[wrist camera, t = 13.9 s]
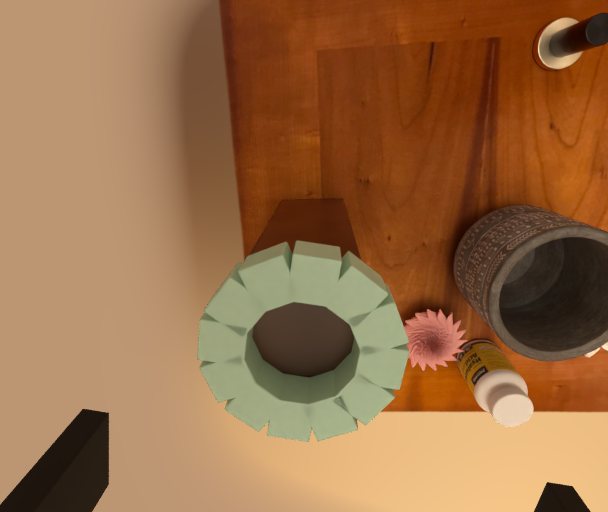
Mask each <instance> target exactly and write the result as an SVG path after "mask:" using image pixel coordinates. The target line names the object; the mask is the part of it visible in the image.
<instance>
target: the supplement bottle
mask: <svg viewBox="0 0 608 512" xmlns="http://www.w3.org/2000/svg"><path fill="white" fill-rule="evenodd" d="M461 349H462V350H464V351H465V352H459V353H458V355H457V366H458V368H459V370H460V372H461V374H462V376H463V378H464V379H465V381H466V383H467V385H468V387H469V388H470V390H471V392H472V394H473V396H474V398H475V399H476V401H477V403H478V404H479V406H480V407H481V408H482V409H484V410H485V411H487V412H489V413H491V414H492V416H493V418H494V419H495V420H496V421H497V422H498V423H499V424H501V425H503V426H507V427H515V426H519V425H522V424H524V423H525V422H527V421H528V420H529V419H530V417H531V415H532V413H533V404H532V402H531V400H530V399H529V397H528V396H527V394H528V389H527V385H526V383H525V381H524V380H523V378H522V377H521V375H520V374H519V373H518V372H517V370H516V369H515V368H514V367H513V365H512V364H511V363H510V361H509V360H508V359H507V358H506V356H505V355H504V354H503V353H502V351H501V350H500V349H499V348H498V347H497V346H496V345H495V344H494V343H492V342H490V341H487V340H474V341H471V342H469V343H467V344H465V345H464V346H463V347H462V348H461Z"/></svg>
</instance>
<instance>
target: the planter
mask: <svg viewBox="0 0 608 512" xmlns="http://www.w3.org/2000/svg"><path fill="white" fill-rule="evenodd" d="M453 272H454V278H455V282H456V285H457V287H458V289H459V291H460V292H461V294H462V295H463V297H464V298H465V299H466V301H467V302H468V303H469V304H470V305H471V306H472V308H473V309H474V310H475V311H476V312H477V313H478V314H479V315H480V317H481V318H482V319H483V320H484V321H485V323H486V324H487V325H488V326H489V327H490V328H491V329H492V330H493V331H494V332H495V333H496V335H497V336H498V337H499V338H500V339H501V340H502V342H503V343H504V344H506V345H507V346H508V347H509V348H510V349H512V350H513V351H515V352H517V353H519V354H521V355H523V356H525V357H528V358H531V359H535V360H541V361H562V360H568V359H572V358H576V357H579V356H582V355H585V354H587V353H590V352H592V351H594V350H596V349H598V348H599V347H601V346H603V345H604V344H606V343H607V342H608V232H606V231H604V230H601V229H598V228H595V227H592V226H590V225H587V224H585V223H582V222H579V221H576V220H573V219H570V218H568V217H564V216H562V215H559V214H557V213H554V212H552V211H549V210H546V209H543V208H539V207H535V206H530V205H512V206H507V207H503V208H500V209H497V210H494V211H492V212H490V213H488V214H486V215H485V216H483V217H482V218H480V219H479V220H478V221H476V222H475V223H474V224H473V225H472V226H471V227H470V228H469V229H468V230H467V232H466V233H465V234H464V236H463V237H462V239H461V241H460V242H459V244H458V247H457V249H456V252H455V256H454V263H453Z"/></svg>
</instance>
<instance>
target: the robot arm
mask: <svg viewBox="0 0 608 512" xmlns="http://www.w3.org/2000/svg"><path fill="white" fill-rule="evenodd" d="M108 484H109V413H106V412H100V411H93V410H87V409H82V411H81V412H80V413H79V414H78V415H77V416H76V418H75V419H74V420H73V421H72V422H71V424H70V425H69V426H68V427H67V428H66V429H65V430H64V432H63V433H62V434H61V435H60V436H59V437H58V438H57V440H56V441H55V442H54V443H53V444H52V445H51V447H50V448H49V449H48V450H47V451H46V452H45V454H44V455H43V456H42V457H41V458H40V459H39V460H38V462H37V463H36V464H35V465H34V466H33V468H32V469H31V470H30V471H29V472H28V473H27V474H26V476H25V477H24V478H23V479H22V480H21V481H20V483H19V484H18V485H17V486H16V487H15V488H14V489H13V491H12V492H11V493H10V494H9V495H8V496H7V498H6V499H5V500H4V501H3V502H2V504H1V505H0V512H92V511H93V509H94V508H95V506H96V504H97V503H98V501H99V499H100V498H101V496H102V495H103V493H104V491H105V489H106V488H107V486H108ZM534 512H590V510H589V509H588V508H587V506H586V505H585V503H584V502H583V500H582V499H581V498H580V496H579V495H578V493H577V492H576V491H575V489H574V488H573V486H567V485H561V484H555V483H549V482H547V484H546V486H545V488H544V490H543V493H542V495H541V497H540V499H539V502H538V504H537V506H536V508H535V511H534Z"/></svg>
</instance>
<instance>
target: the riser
mask: <svg viewBox="0 0 608 512" xmlns="http://www.w3.org/2000/svg"><path fill="white" fill-rule="evenodd" d="M297 240H298V241H304V242H311V243H318V244H324V245H331V246H338V247H340V252H341V258H342V257H343V256H344V255H345V254H346V253H347V252H348V251H350V252H351V253H352V254H354V255H355V256H356V257H358V258H359V259H360V260H361V257H360V254H359V251H358V247H357V244H356V241H355V237H354V234H353V231H352V228H351V224H350V221H349V218H348V214H347V211H346V208H345V204H344V201H343V199H305V200H282V201H281V203H280V204H279V206H278V208H277V209H276V211H275V213H274V214H273V216H272V218H271V219H270V221H269V223H268V225H267V226H266V228H265V230H264V231H263V233H262V235H261V236H260V238H259V240H258V241H257V243H256V245H255V247H254V248H253V250H252V252H251V253H250V255H252V254H254V253H257V252H260V251H262V250H265V249H268V248H270V247H273V246H276V245H278V244H281V243H284V242H287V243H288V245H289V247H290V250H291V252H292V255H293V251H294V247H295V243H296V241H297ZM252 338H253V340H254V342H255V344H256V346H257V348H258V350H259V352H260V354H261V356H262V359H263V360H265V361H266V362H267V363H269V364H270V365H272V366H273V367H275V368H276V369H277V370H279V371H280V372H282V373H283V374H289V375H296V376H302V377H309V378H310V377H313V376H316V375H319V374H323V373H326V372H329V371H332V370H334V369H335V368H336V367H337V366H338V365H339V364H340V363H341V362H342V361H343V360H344V359H345V358H346V357H347V356H348V355H349V354H350V353H351V351H352V346H353V341H354V335H353V332H352V330H351V327H350V325H349V324H348V323H347V322H345V321H344V320H343V319H341V318H340V317H339V316H337V315H336V314H335V313H333V312H332V311H331V310H329V309H328V308H327V307H325V306H318V305H312V304H305V303H298V302H292V303H289V304H286V305H283V306H281V307H278V308H275V309H272V310H269V311H266V312H265V313H264V314H263V316H262V317H261V318H260V319H259V320H258V322H257V323H256V324H255V325H254V327H253V335H252Z"/></svg>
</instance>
